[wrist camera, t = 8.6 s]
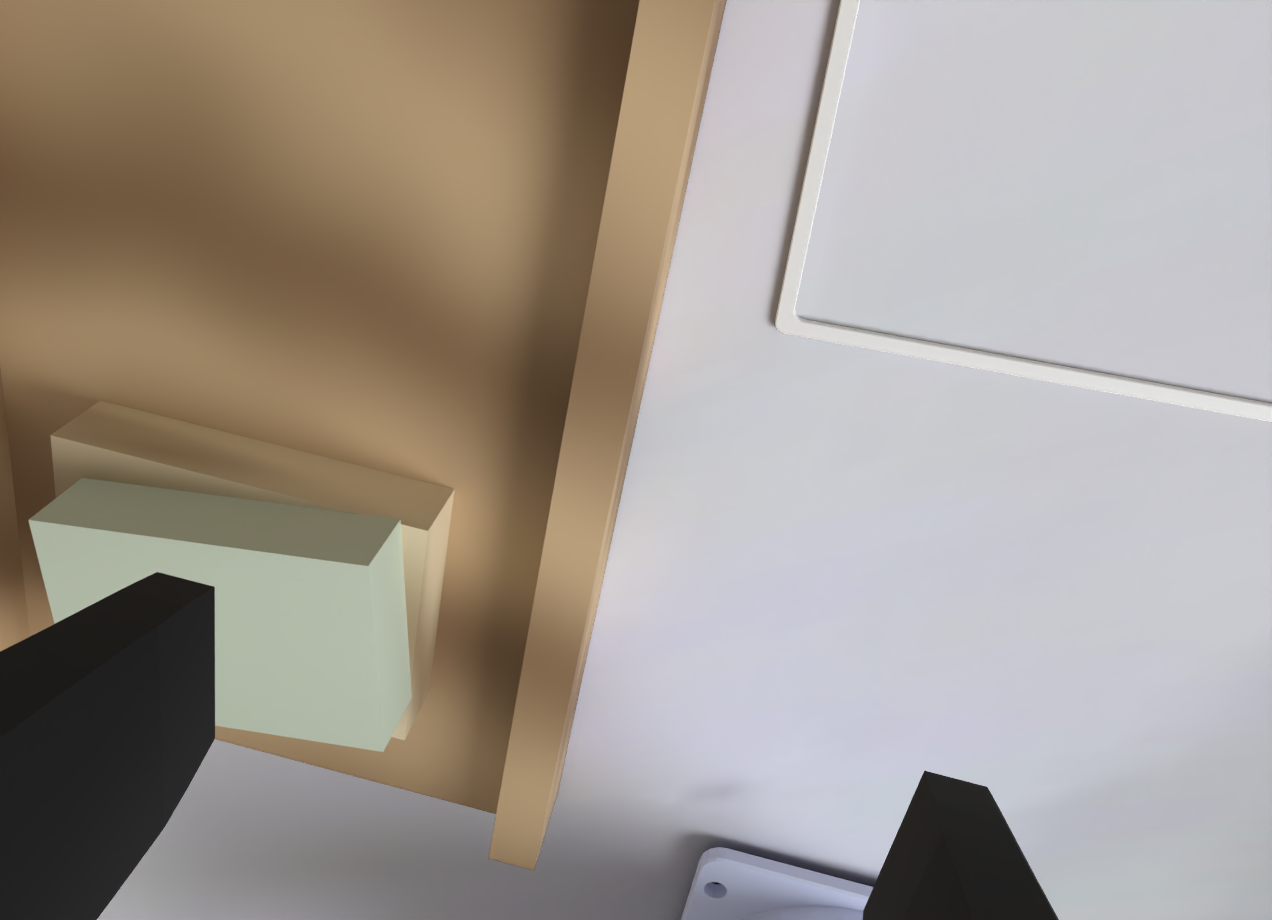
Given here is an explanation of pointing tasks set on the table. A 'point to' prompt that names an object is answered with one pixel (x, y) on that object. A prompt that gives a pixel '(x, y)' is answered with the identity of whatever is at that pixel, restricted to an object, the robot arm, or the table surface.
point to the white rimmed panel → (933, 351)
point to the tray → (364, 298)
